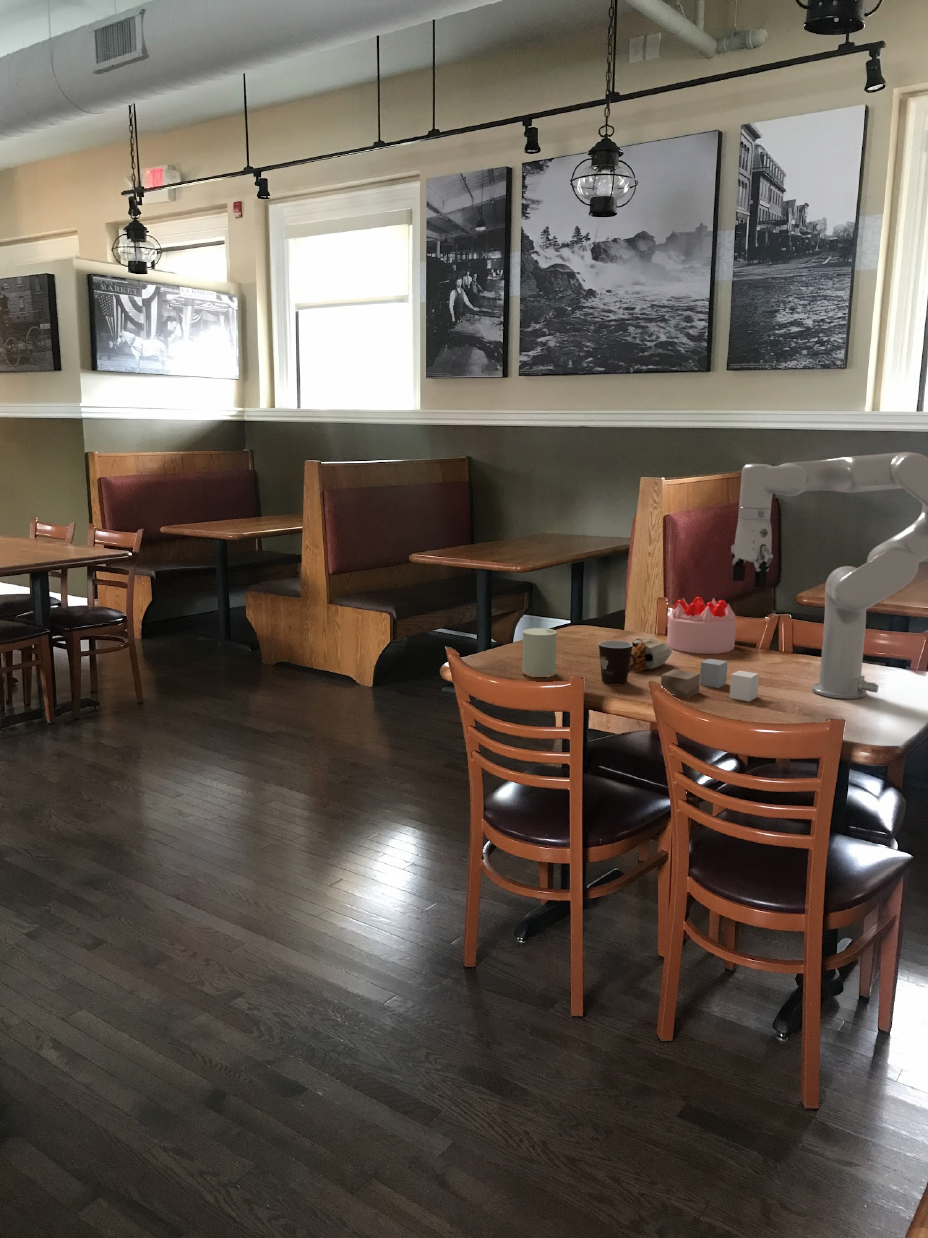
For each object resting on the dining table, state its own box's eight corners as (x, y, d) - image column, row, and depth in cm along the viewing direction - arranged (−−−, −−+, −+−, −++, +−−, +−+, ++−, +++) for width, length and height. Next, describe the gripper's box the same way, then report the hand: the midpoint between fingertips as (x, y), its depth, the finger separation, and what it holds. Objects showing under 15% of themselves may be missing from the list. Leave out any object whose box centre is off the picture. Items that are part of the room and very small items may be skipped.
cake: (655, 648, 290) (657, 601, 287) (686, 637, 305) (688, 592, 302) (716, 658, 277) (718, 609, 275) (745, 646, 292) (748, 599, 290)
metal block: (698, 693, 242) (700, 673, 241) (686, 699, 236) (687, 679, 235) (673, 688, 246) (674, 669, 245) (660, 694, 241) (661, 674, 240)
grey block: (726, 684, 250) (727, 661, 249) (718, 688, 246) (719, 665, 245) (708, 680, 253) (709, 658, 252) (699, 684, 249) (700, 662, 248)
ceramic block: (757, 697, 238) (758, 673, 237) (749, 701, 234) (750, 677, 233) (737, 693, 241) (739, 670, 240) (729, 698, 237) (730, 674, 236)
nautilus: (644, 682, 254) (595, 675, 263) (683, 662, 269) (636, 656, 279) (643, 652, 252) (594, 647, 262) (682, 634, 268) (635, 629, 277)
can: (558, 678, 255) (559, 633, 253) (522, 677, 255) (523, 633, 253) (554, 669, 264) (555, 626, 262) (520, 669, 264) (521, 626, 262)
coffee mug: (594, 677, 255) (595, 640, 253) (626, 677, 256) (628, 640, 254) (603, 689, 244) (605, 651, 242) (637, 689, 244) (639, 650, 242)
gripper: (788, 518, 230) (781, 589, 234) (748, 511, 247) (743, 577, 250) (760, 518, 228) (754, 590, 232) (722, 511, 245) (717, 578, 248)
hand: (748, 583), depth 241 cm, fingers open, 9 cm apart
